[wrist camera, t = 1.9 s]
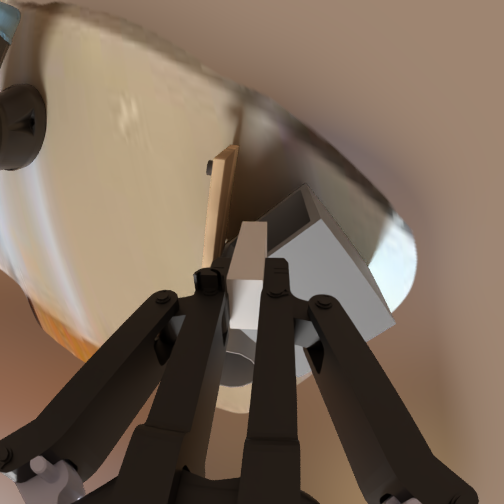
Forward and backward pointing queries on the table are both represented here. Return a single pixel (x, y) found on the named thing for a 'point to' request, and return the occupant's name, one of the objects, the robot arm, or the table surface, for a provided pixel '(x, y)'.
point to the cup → (238, 360)
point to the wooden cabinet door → (219, 203)
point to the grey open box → (321, 264)
